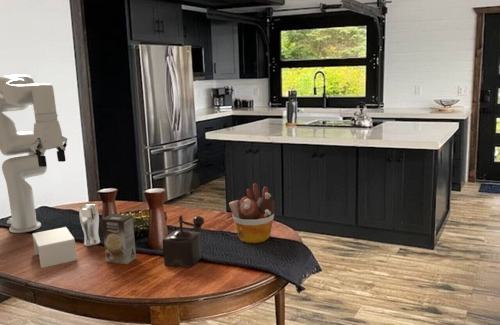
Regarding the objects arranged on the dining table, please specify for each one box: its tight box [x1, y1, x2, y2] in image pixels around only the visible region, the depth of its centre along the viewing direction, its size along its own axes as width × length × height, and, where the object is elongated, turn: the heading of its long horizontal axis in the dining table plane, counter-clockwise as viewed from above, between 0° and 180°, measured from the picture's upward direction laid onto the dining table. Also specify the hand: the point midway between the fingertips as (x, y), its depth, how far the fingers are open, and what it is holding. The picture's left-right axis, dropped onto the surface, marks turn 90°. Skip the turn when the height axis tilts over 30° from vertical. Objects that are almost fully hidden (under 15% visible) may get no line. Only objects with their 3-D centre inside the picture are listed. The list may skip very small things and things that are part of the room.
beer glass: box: [78, 203, 101, 247], centre depth 191 cm, size 7×7×15 cm
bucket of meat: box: [228, 182, 275, 244], centre depth 188 cm, size 20×16×20 cm
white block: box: [31, 226, 78, 269], centre depth 179 cm, size 16×12×8 cm
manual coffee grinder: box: [161, 215, 205, 268], centre depth 168 cm, size 16×11×18 cm
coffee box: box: [101, 213, 137, 265], centre depth 173 cm, size 9×6×16 cm
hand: (52, 163), depth 182 cm, fingers open, 9 cm apart
